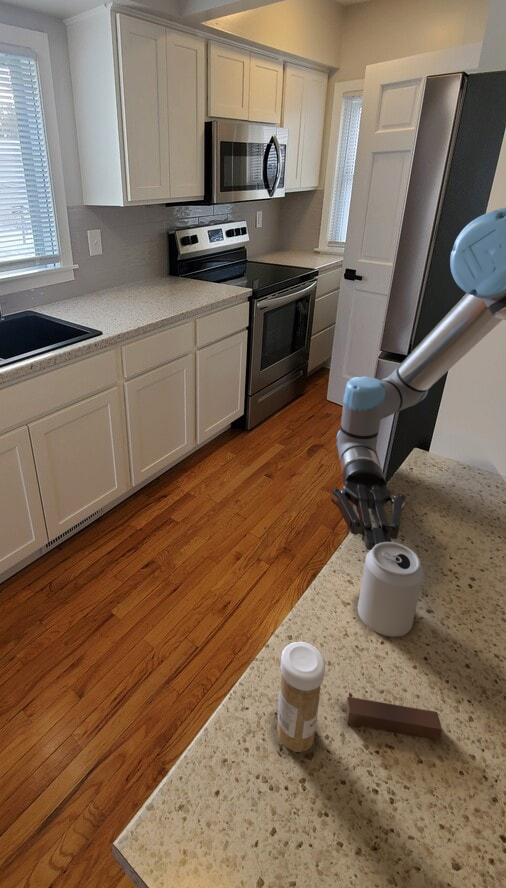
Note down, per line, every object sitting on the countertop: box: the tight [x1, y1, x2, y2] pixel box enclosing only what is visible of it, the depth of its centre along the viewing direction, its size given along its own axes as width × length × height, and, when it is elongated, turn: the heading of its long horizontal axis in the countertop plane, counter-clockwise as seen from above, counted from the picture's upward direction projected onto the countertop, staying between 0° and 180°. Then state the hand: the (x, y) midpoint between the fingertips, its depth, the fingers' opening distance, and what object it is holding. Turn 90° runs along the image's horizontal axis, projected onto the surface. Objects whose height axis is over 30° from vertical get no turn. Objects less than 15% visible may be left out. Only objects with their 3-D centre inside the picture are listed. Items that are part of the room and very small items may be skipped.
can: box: [357, 541, 425, 638], centre depth 69 cm, size 8×8×12 cm
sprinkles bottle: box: [276, 641, 326, 753], centre depth 54 cm, size 5×5×14 cm
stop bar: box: [344, 696, 443, 742], centre depth 57 cm, size 10×2×3 cm, turn 79°
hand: (382, 563), depth 73 cm, fingers closed
